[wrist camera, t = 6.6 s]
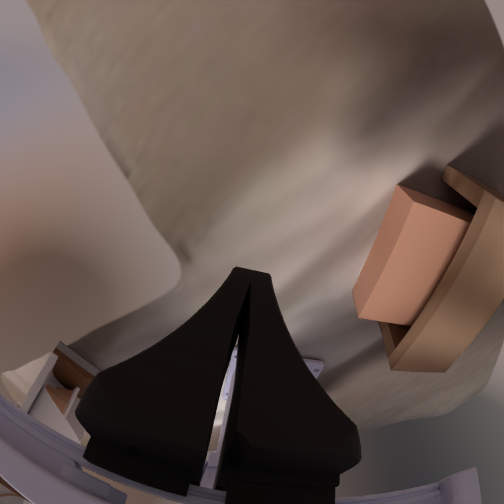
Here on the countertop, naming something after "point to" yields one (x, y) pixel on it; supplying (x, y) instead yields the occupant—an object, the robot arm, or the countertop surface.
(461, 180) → the tan wooden box
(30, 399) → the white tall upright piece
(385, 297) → the terracotta brick
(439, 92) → the countertop surface
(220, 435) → the robot arm
